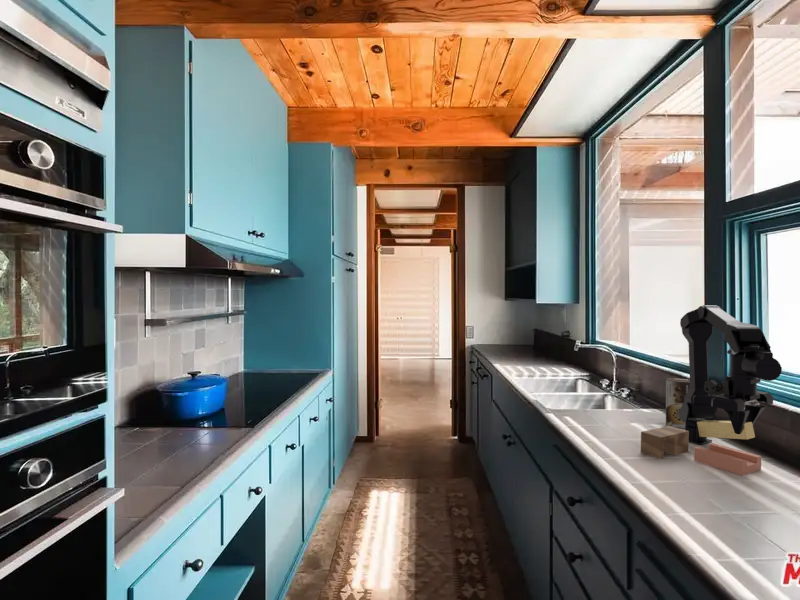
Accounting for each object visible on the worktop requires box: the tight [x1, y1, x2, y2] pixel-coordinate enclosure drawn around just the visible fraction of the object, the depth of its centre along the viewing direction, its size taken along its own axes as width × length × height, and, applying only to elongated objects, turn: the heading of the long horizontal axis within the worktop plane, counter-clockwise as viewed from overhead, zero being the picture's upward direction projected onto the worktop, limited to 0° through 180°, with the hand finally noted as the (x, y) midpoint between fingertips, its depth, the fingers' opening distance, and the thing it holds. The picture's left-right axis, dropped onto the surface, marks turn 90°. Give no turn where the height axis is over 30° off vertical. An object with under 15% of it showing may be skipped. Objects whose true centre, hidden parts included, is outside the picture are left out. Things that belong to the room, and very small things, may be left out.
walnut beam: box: [640, 426, 690, 460], centre depth 138 cm, size 13×6×6 cm, turn 119°
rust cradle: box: [693, 442, 762, 476], centre depth 128 cm, size 9×12×4 cm
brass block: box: [697, 419, 756, 440], centre depth 128 cm, size 12×4×4 cm, turn 29°
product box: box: [664, 377, 690, 429], centre depth 165 cm, size 9×6×16 cm
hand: (741, 432), depth 125 cm, fingers closed on brass block, 4 cm apart
